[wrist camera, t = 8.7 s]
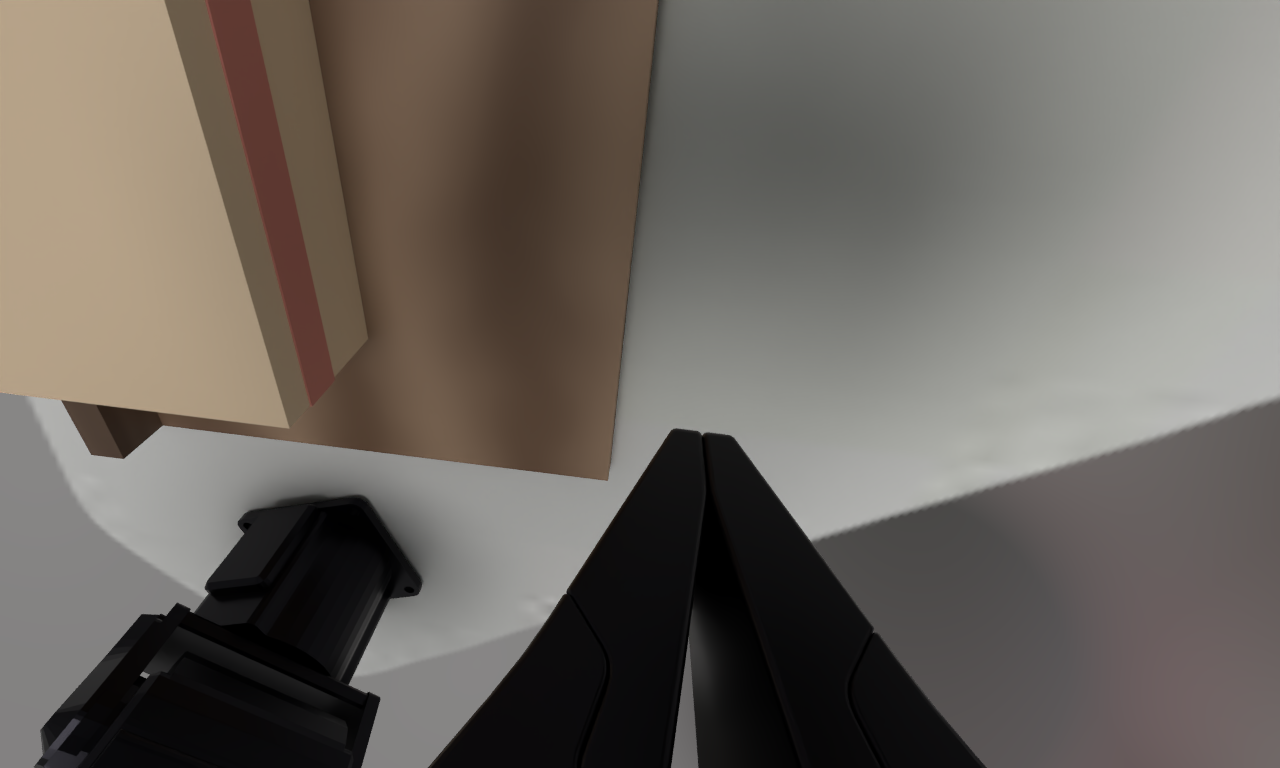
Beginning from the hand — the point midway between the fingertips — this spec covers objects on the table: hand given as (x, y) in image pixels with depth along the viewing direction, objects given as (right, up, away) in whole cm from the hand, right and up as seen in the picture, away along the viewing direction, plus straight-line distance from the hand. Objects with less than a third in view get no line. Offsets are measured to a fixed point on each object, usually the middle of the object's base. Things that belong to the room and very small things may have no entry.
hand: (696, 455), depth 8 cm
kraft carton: (-14, +8, +9) cm, 19 cm away
